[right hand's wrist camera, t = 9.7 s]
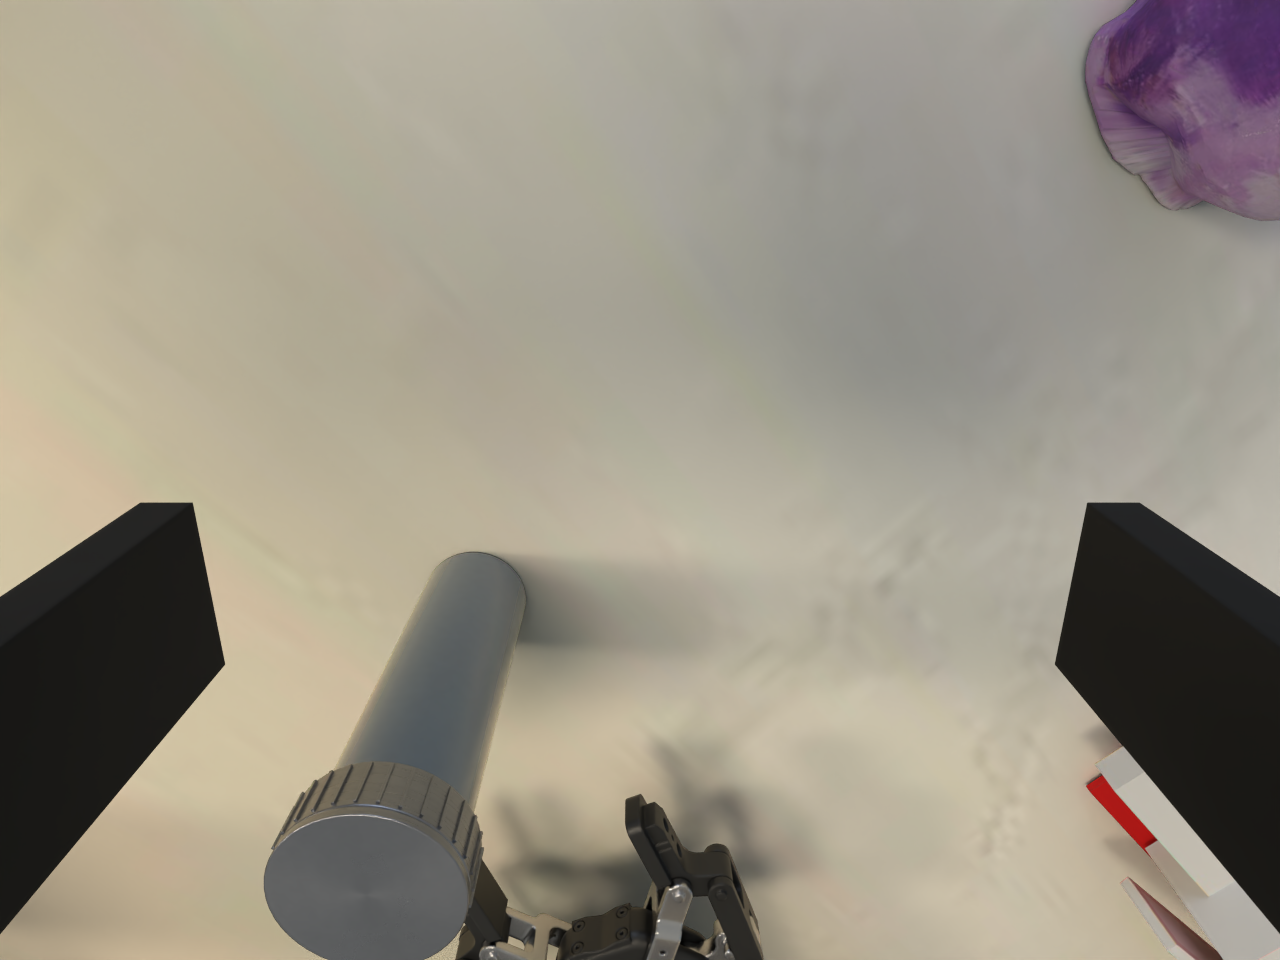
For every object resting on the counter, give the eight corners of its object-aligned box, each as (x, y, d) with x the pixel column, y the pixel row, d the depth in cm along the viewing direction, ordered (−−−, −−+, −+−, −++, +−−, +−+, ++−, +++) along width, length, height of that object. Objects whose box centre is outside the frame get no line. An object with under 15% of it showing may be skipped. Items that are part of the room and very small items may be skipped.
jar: (419, 553, 40) (272, 821, 24) (521, 549, 40) (442, 814, 24) (433, 641, 42) (304, 947, 26) (530, 637, 42) (462, 941, 26)
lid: (273, 761, 26) (240, 816, 23) (472, 754, 26) (457, 808, 23) (309, 912, 28) (283, 974, 26) (494, 905, 28) (482, 967, 26)
